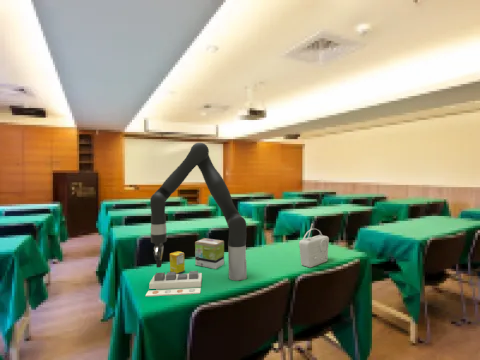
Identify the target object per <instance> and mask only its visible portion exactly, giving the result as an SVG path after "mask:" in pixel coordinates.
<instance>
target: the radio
mask: <svg viewBox="0 0 480 360" xmlns="http://www.w3.org/2000/svg"><path fill="white" fill-rule="evenodd" d="M313 225H314V223H311V225H310V229H309V230H308V231H306V233H305V234H304V235H303V238H302V239H300V240H299V243H298V244H299V245H298V247H299V256H300V264H301V266H304V267H307V268H310V269H311V268H314V267H316V266H319V265H321V264H323V263H326V262H328V260H329V259H328V257H329V241H330V238H329V236H327V235H323V234H322V232H321V230H320V229H317V228H315V230H317V231H318V232H319V234H318V235H314V236H312V237H311V231H312V230H313ZM307 235H308V236H307Z"/></svg>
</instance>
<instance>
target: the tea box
mask: <svg viewBox="0 0 480 360" xmlns="http://www.w3.org/2000/svg"><path fill="white" fill-rule="evenodd" d="M194 249H195V251H194V255H195V256H194V258H195V259H194V260H195V262H194V263H195V266H199V267H204V268H210V269H213V270H217V269H218V268H220V267H221V266H224V264H225V241H224V240H222V239H221V240H220V239H213V238H205V237H203V238H201V239H198V240H197V241H195V242H194Z"/></svg>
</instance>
